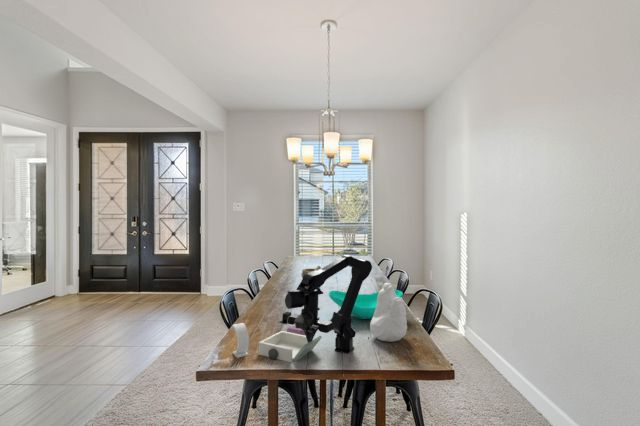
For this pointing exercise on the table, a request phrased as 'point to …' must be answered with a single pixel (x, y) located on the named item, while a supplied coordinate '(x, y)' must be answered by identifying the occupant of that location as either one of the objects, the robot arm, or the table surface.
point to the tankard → (309, 271)
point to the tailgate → (307, 348)
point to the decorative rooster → (389, 316)
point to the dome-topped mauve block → (295, 330)
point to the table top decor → (360, 303)
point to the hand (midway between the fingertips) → (309, 343)
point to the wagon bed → (282, 346)
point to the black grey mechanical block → (285, 317)
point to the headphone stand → (241, 340)
